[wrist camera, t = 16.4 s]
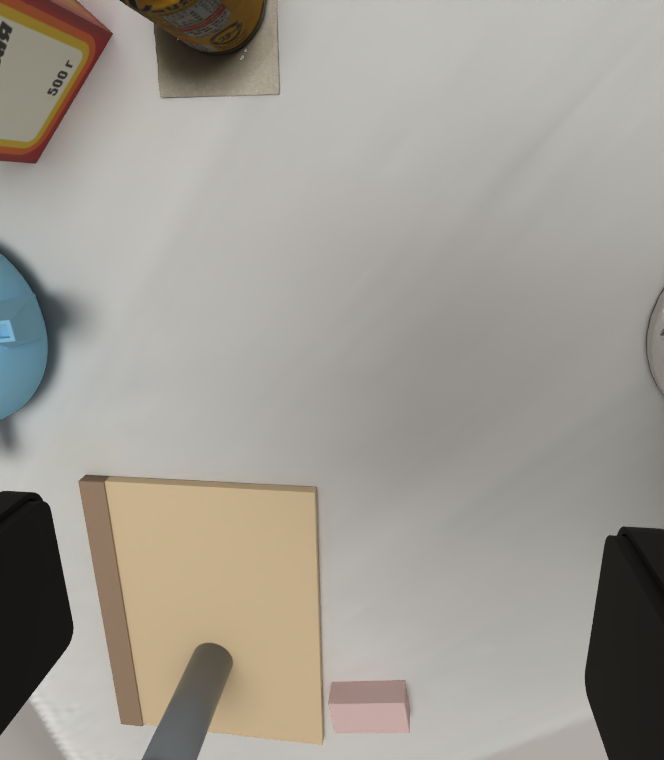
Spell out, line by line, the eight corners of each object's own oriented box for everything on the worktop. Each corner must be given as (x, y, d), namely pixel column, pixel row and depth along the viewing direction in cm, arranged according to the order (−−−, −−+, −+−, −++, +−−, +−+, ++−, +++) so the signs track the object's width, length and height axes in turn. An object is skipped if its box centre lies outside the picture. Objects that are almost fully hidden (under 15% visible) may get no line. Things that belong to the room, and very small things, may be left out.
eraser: (404, 677, 46) (404, 702, 44) (409, 706, 47) (409, 732, 44) (332, 679, 47) (328, 704, 45) (338, 707, 48) (334, 733, 46)
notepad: (316, 487, 41) (314, 494, 40) (323, 736, 49) (322, 747, 48) (85, 474, 44) (78, 481, 43) (126, 714, 51) (121, 723, 50)
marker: (232, 643, 46) (173, 791, 34) (235, 678, 47) (179, 832, 36) (189, 639, 46) (117, 784, 35) (193, 674, 47) (125, 825, 36)
